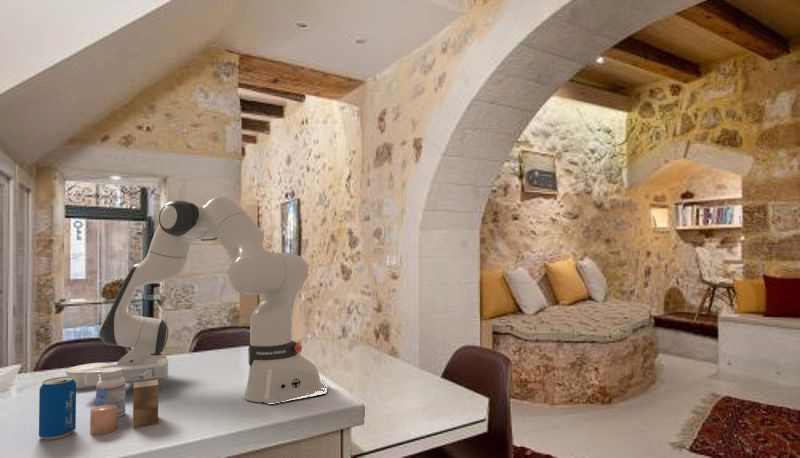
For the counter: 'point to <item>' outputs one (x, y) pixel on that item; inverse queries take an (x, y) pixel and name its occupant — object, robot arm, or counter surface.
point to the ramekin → (82, 374)
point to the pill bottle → (111, 389)
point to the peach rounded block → (103, 419)
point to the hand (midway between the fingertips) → (122, 379)
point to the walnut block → (145, 403)
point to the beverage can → (57, 408)
